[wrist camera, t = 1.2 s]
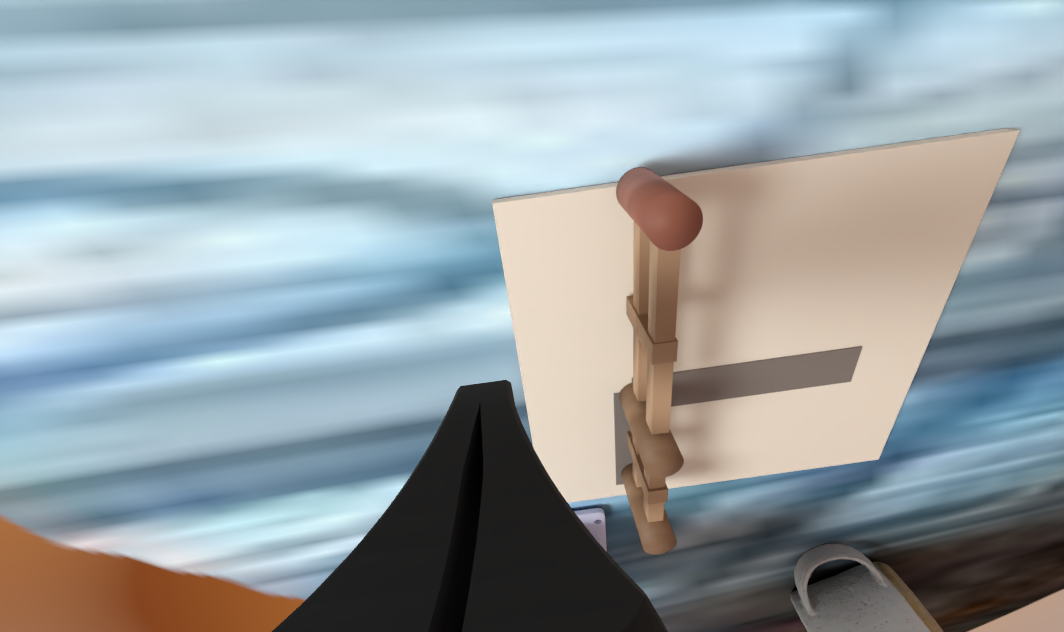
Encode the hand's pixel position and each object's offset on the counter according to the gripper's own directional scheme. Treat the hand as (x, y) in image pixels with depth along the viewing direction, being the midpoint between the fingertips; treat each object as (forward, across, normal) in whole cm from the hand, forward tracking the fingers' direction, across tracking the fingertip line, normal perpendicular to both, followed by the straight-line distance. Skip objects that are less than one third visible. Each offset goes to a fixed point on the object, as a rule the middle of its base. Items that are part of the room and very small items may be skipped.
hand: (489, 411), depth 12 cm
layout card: (+10, -12, +7) cm, 17 cm away
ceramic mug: (+10, -23, +32) cm, 41 cm away
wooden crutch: (+9, -6, +2) cm, 11 cm away
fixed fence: (+9, -6, +12) cm, 16 cm away
